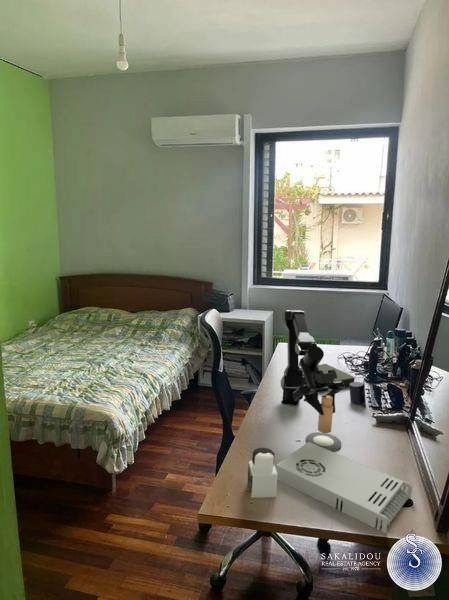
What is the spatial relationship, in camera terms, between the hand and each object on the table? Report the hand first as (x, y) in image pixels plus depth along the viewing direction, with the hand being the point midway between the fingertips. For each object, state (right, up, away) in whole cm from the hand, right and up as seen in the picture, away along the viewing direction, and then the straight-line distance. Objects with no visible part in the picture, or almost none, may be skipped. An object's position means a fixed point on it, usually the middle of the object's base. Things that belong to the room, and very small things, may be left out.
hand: (328, 413), depth 144 cm
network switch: (+12, -1, +61) cm, 62 cm away
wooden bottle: (-1, -6, +2) cm, 7 cm away
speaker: (+21, -6, +37) cm, 43 cm away
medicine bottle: (-25, -15, -24) cm, 38 cm away
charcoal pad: (-1, -11, +3) cm, 11 cm away
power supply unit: (-2, -16, -22) cm, 27 cm away
